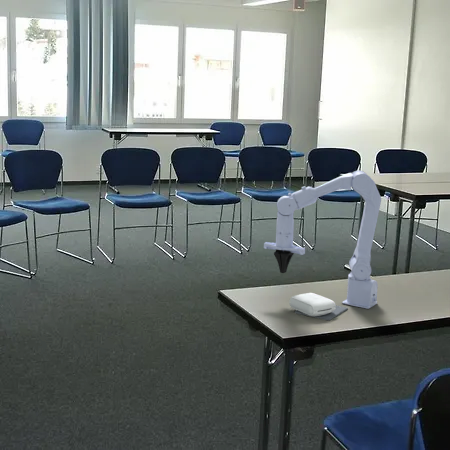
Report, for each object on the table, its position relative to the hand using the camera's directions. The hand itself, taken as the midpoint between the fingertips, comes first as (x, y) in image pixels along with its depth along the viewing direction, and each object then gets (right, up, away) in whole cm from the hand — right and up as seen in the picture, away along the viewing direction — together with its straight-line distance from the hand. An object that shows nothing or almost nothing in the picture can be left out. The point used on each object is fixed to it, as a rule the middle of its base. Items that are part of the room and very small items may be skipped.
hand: (283, 272), depth 226 cm
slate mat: (+12, -12, -9) cm, 19 cm away
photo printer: (+5, -8, -6) cm, 11 cm away
